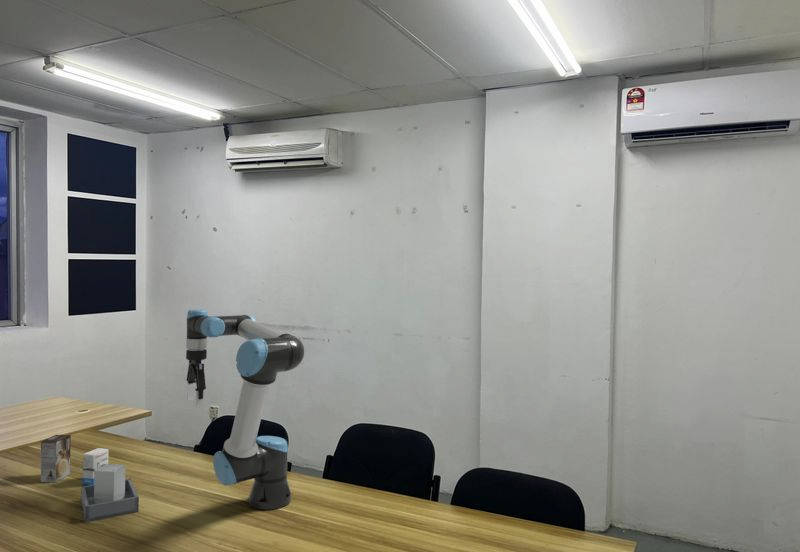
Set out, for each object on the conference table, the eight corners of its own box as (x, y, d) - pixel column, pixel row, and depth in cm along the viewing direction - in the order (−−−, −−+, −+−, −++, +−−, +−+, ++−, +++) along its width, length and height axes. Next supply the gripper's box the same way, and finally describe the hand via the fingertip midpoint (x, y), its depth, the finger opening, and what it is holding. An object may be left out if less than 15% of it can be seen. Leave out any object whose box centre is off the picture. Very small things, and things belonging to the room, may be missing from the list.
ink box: (92, 485, 213) (93, 455, 213) (81, 484, 214) (82, 454, 214) (108, 477, 221) (109, 448, 221) (97, 476, 222) (98, 447, 222)
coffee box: (54, 473, 224) (55, 434, 224) (70, 474, 224) (71, 434, 224) (39, 482, 215) (40, 440, 215) (56, 482, 215) (57, 441, 215)
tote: (138, 511, 191) (138, 497, 191) (85, 522, 182) (85, 507, 182) (130, 491, 208) (130, 478, 208) (80, 500, 199) (81, 486, 199)
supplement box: (125, 499, 198) (126, 464, 198) (113, 508, 191) (114, 471, 191) (105, 498, 199) (106, 463, 199) (92, 506, 192) (93, 470, 192)
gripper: (215, 352, 208) (213, 409, 208) (198, 344, 229) (197, 396, 229) (194, 354, 204) (193, 411, 204) (179, 345, 225) (178, 398, 225)
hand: (195, 403), depth 216 cm, fingers open, 13 cm apart
